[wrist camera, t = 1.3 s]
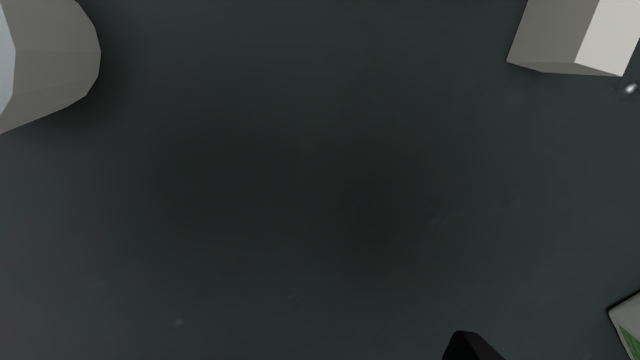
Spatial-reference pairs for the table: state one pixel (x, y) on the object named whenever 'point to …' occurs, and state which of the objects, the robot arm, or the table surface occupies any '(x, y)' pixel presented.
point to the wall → (577, 36)
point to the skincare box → (628, 325)
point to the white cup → (44, 58)
